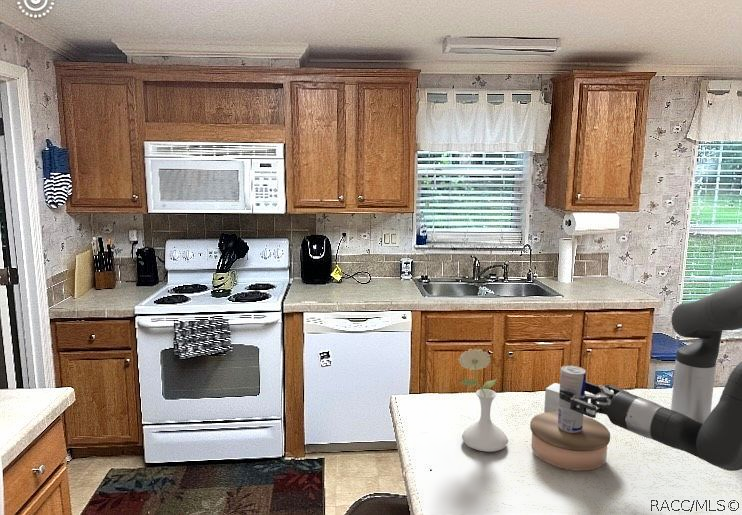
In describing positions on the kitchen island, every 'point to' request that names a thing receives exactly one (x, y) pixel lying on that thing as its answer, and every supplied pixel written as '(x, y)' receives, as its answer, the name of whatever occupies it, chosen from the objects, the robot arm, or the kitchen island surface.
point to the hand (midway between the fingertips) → (571, 389)
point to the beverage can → (568, 418)
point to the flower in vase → (482, 407)
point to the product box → (552, 398)
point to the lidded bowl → (569, 442)
